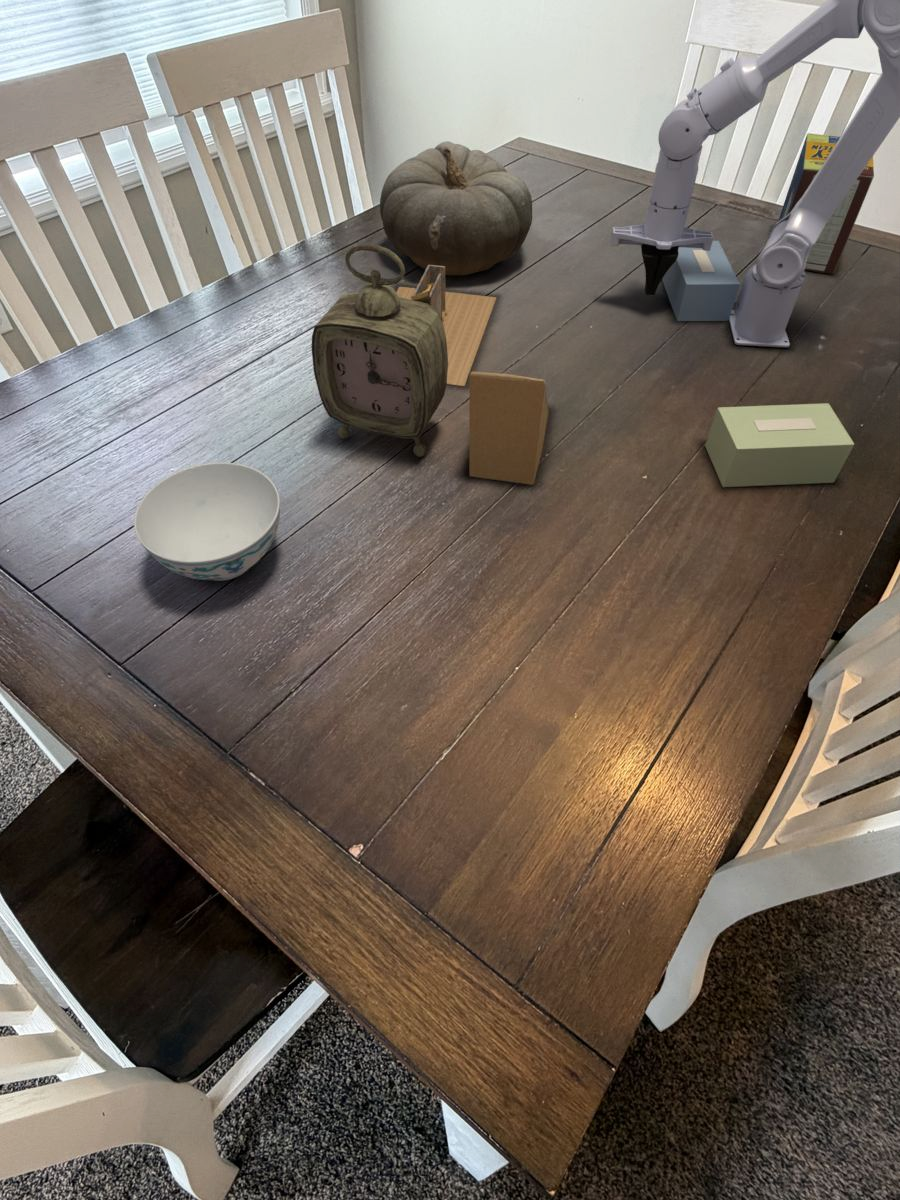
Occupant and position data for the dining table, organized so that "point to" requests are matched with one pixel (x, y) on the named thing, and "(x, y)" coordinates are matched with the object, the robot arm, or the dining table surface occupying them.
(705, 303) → the back tissue box
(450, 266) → the gourd
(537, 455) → the sandwich container
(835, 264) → the protein box
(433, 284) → the architectural model on board
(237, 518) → the chinaware
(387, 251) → the tabletop clock
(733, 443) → the front tissue box
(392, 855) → the dining table surface
